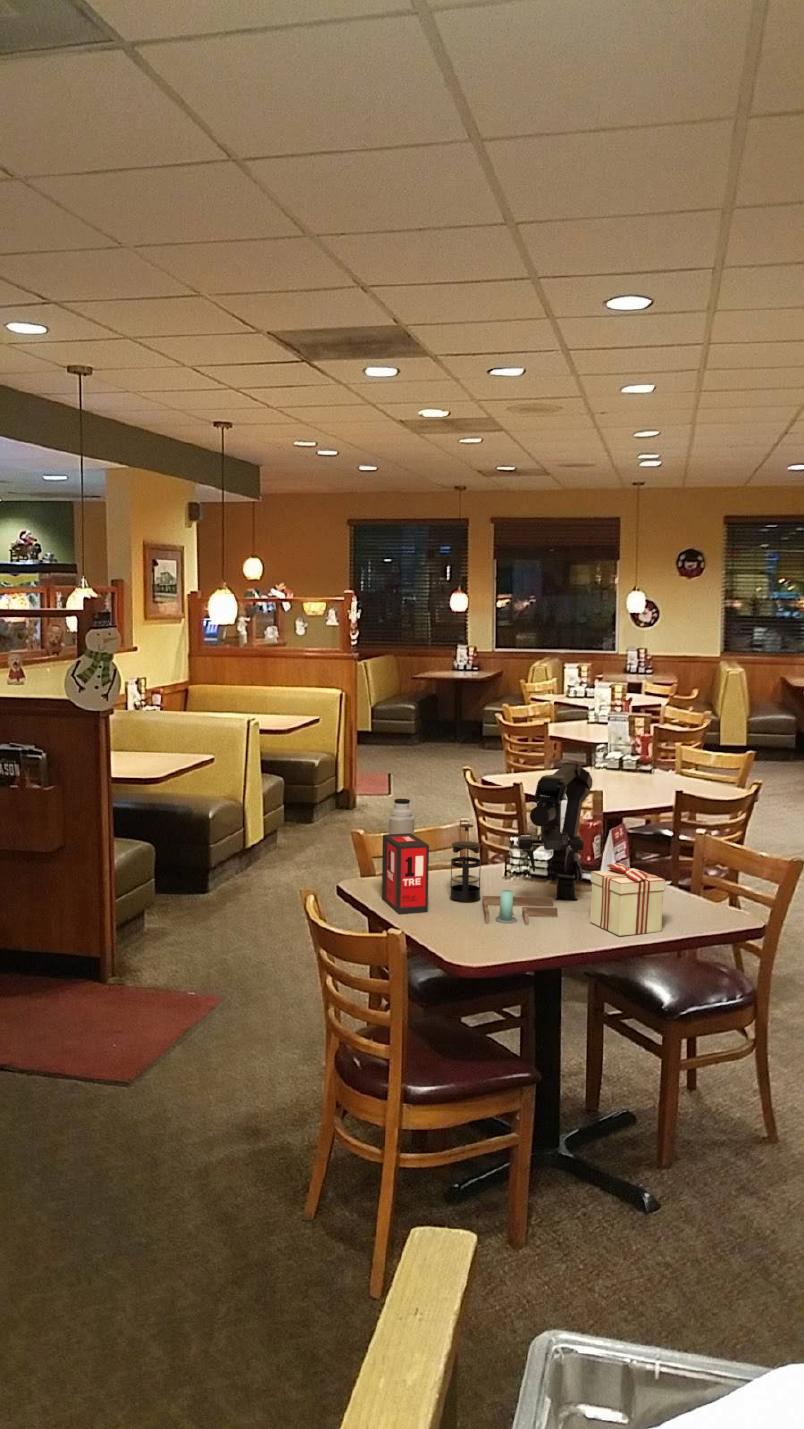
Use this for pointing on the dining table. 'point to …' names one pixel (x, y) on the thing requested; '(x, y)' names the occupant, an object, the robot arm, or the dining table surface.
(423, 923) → the dining table surface
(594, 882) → the gift box
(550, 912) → the channel
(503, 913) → the peg
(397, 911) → the cleaning product box
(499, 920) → the pad
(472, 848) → the french press
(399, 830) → the thermos bottle
